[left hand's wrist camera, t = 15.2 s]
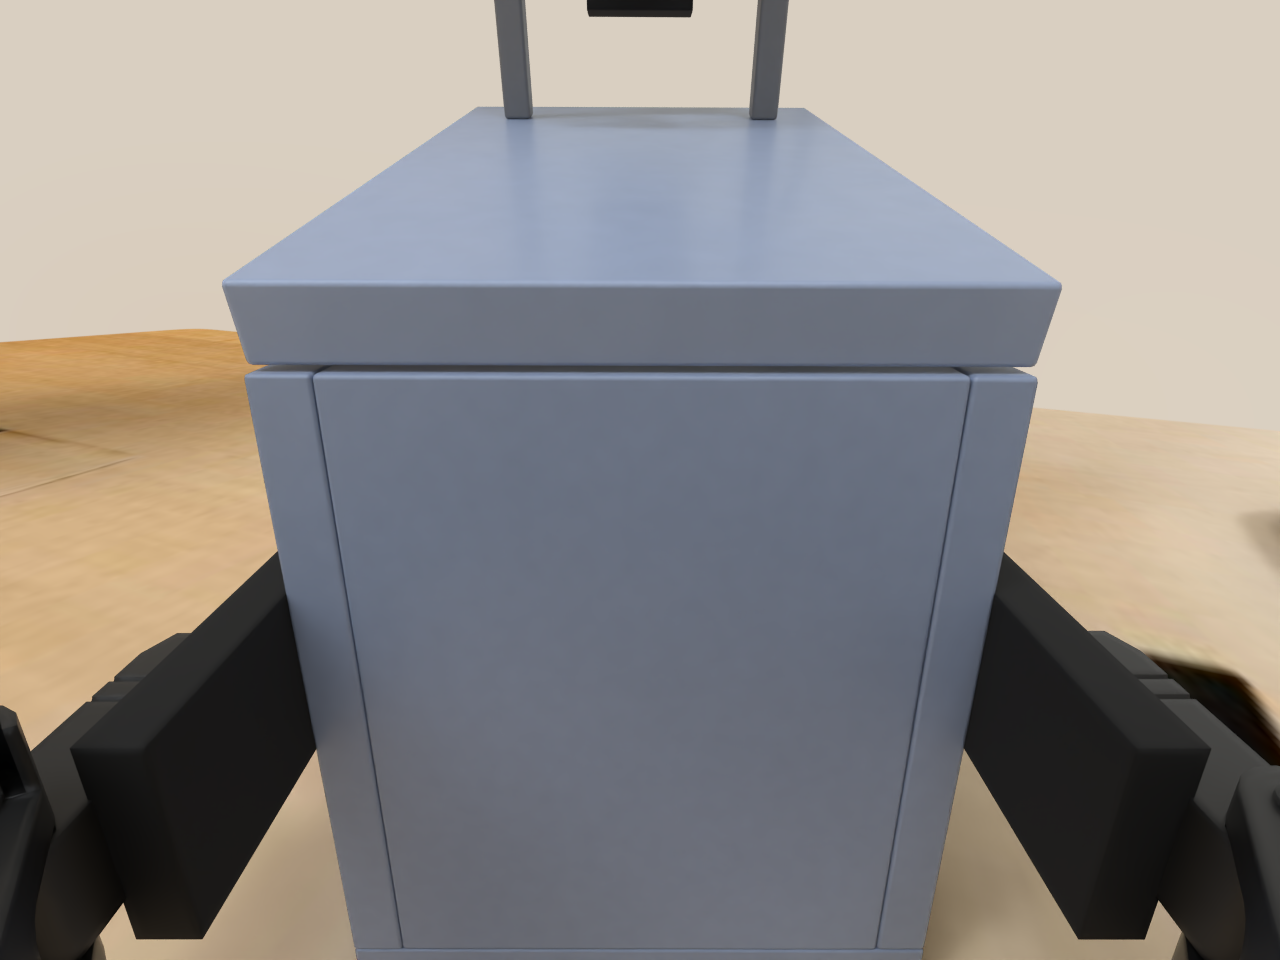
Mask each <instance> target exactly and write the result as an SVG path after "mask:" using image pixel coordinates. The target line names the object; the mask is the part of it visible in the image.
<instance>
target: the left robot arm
mask: <svg viewBox="0 0 1280 960" xmlns="http://www.w3.org/2000/svg"><path fill="white" fill-rule="evenodd" d="M964 749H965V751H966V752H967V754H968V756H969V757H970V759H971V761H972V762H973V764H974V766H975V767H976V769H977V771H978V772H979V774H980V776H981V777H982V779H983V781H984V782H985V784H986V786H987V787H988V789H989V791H990V792H991V794H992V796H993V797H994V799H995V801H996V802H997V804H998V806H999V807H1000V809H1001V811H1002V813H1003V814H1004V816H1005V818H1006V819H1007V821H1008V823H1009V824H1010V826H1011V828H1012V829H1013V831H1014V833H1015V834H1016V836H1017V838H1018V839H1019V841H1020V843H1021V844H1022V846H1023V848H1024V849H1025V851H1026V853H1027V854H1028V856H1029V858H1030V859H1031V861H1032V863H1033V864H1034V866H1035V868H1036V869H1037V871H1038V873H1039V874H1040V876H1041V878H1042V879H1043V881H1044V883H1045V884H1046V886H1047V888H1048V889H1049V891H1050V893H1051V894H1052V896H1053V898H1054V899H1055V901H1056V903H1057V904H1058V906H1059V908H1060V909H1061V911H1062V913H1063V914H1064V916H1065V918H1066V919H1067V921H1068V923H1069V924H1070V926H1071V928H1072V929H1073V931H1074V933H1075V934H1076V936H1077V938H1078V939H1145V937H1146V934H1147V931H1148V928H1149V926H1150V923H1151V920H1152V917H1153V914H1154V911H1155V908H1156V906H1157V903H1158V900H1159V901H1160V903H1161V904H1162V905H1163V907H1164V908H1165V909H1166V911H1167V912H1168V913H1169V915H1170V916H1171V917H1172V919H1173V920H1174V921H1175V923H1176V924H1177V925H1178V927H1179V928H1180V929H1181V931H1182V933H1181V936H1180V938H1179V941H1178V944H1177V946H1176V949H1175V952H1174V954H1173V957H1172V960H1280V766H1270V765H1269V764H1268V763H1267V762H1266V761H1265V760H1263V759H1262V758H1261V757H1260V756H1259V755H1258V754H1257V753H1256V752H1254V751H1253V750H1252V749H1251V748H1250V747H1249V746H1248V745H1247V744H1245V743H1244V742H1243V741H1242V740H1241V739H1240V738H1239V737H1237V736H1236V735H1235V734H1234V733H1233V732H1232V731H1231V730H1230V729H1228V728H1227V727H1226V726H1225V725H1224V724H1223V723H1222V722H1221V721H1219V720H1218V719H1217V718H1216V717H1215V716H1214V715H1213V714H1211V713H1210V712H1209V711H1208V710H1207V709H1206V708H1205V707H1204V706H1202V705H1201V704H1200V703H1199V702H1198V701H1197V700H1196V699H1190V694H1189V693H1188V692H1187V691H1185V690H1184V689H1183V688H1182V687H1181V686H1180V685H1179V684H1178V683H1176V682H1175V681H1174V680H1173V679H1168V677H1167V674H1166V673H1165V672H1164V671H1163V670H1162V669H1161V668H1159V667H1158V666H1157V665H1156V664H1155V663H1154V662H1153V661H1152V660H1150V659H1149V658H1148V657H1147V656H1146V655H1145V654H1144V653H1143V652H1141V651H1140V650H1138V649H1136V648H1134V647H1133V646H1131V645H1129V644H1127V643H1125V642H1123V641H1122V640H1120V639H1118V638H1116V637H1114V636H1113V635H1111V634H1109V633H1107V632H1105V631H1087V630H1086V629H1085V628H1084V627H1083V626H1082V625H1080V624H1079V623H1078V622H1077V621H1076V620H1075V619H1074V618H1073V617H1072V616H1071V615H1070V614H1069V613H1068V612H1067V611H1066V610H1065V609H1064V608H1063V607H1061V606H1060V605H1059V604H1058V603H1057V602H1056V601H1055V600H1054V599H1053V598H1052V597H1051V596H1050V595H1049V594H1048V593H1047V592H1046V591H1045V590H1043V589H1042V588H1041V587H1040V586H1039V585H1038V584H1037V583H1036V582H1035V581H1034V580H1033V579H1032V578H1031V577H1030V576H1029V575H1028V574H1027V573H1026V572H1024V571H1023V570H1022V569H1021V568H1020V567H1019V566H1018V565H1017V564H1016V563H1015V562H1014V561H1013V560H1012V559H1011V558H1010V557H1009V556H1008V555H1006V554H1005V553H1004V552H1003V557H1002V562H1001V566H1000V571H999V576H998V581H997V586H996V591H995V594H994V599H993V604H992V609H991V614H990V619H989V624H988V629H987V634H986V639H985V644H984V649H983V654H982V659H981V664H980V669H979V674H978V679H977V684H976V689H975V695H974V700H973V705H972V710H971V715H970V720H969V725H968V730H967V735H966V740H965V745H964ZM315 750H316V744H315V739H314V734H313V729H312V724H311V719H310V714H309V709H308V703H307V698H306V693H305V688H304V683H303V678H302V673H301V667H300V662H299V657H298V652H297V647H296V642H295V636H294V631H293V626H292V621H291V616H290V611H289V606H288V600H287V595H286V590H285V585H284V580H283V575H282V569H281V564H280V559H279V554H278V551H277V552H276V553H275V554H274V555H273V556H272V557H271V558H270V559H269V560H268V561H267V562H266V563H265V564H264V565H263V566H262V567H261V568H259V569H258V570H257V571H256V572H255V573H254V574H253V575H252V576H251V577H250V578H249V579H248V580H247V581H246V582H245V583H244V584H243V585H242V586H240V587H239V588H238V589H237V590H236V591H235V592H234V593H233V594H232V595H231V596H230V597H229V598H228V599H227V600H226V601H225V602H224V603H222V604H221V605H220V606H219V607H218V608H217V609H216V610H215V611H214V612H213V613H212V614H211V615H210V616H209V617H208V618H207V619H206V620H205V621H203V622H202V623H201V624H200V625H199V626H198V627H197V628H196V629H195V630H194V631H193V632H192V633H177V634H175V635H173V636H171V637H169V638H168V639H166V640H164V641H162V642H160V643H159V644H157V645H155V646H153V647H151V648H150V649H148V650H146V651H144V652H142V653H141V654H140V655H138V656H137V657H136V658H135V659H134V660H133V661H132V662H131V663H129V664H128V665H127V666H126V667H125V668H124V669H123V670H122V671H120V672H119V673H118V674H117V675H116V676H115V677H114V681H113V682H108V683H107V684H106V685H105V686H104V687H102V688H101V689H100V690H99V691H98V692H97V693H96V694H95V695H94V696H92V701H91V702H86V703H85V704H83V705H82V706H81V707H80V708H79V709H78V710H77V711H76V712H74V713H73V714H72V715H71V716H70V717H69V718H68V719H67V720H65V721H64V722H63V723H62V724H61V725H60V726H59V727H58V728H56V729H55V730H54V731H53V732H52V733H51V734H50V735H49V736H48V737H46V738H45V739H44V740H43V741H42V742H41V743H40V744H39V745H37V746H36V747H35V748H34V749H33V750H32V751H31V752H30V749H29V746H28V744H27V741H26V738H25V736H24V733H23V730H22V728H21V725H20V722H19V720H18V717H17V714H16V712H14V711H12V710H10V709H8V708H6V707H4V706H0V960H106V956H105V951H104V946H103V944H102V941H101V938H100V936H99V935H100V933H101V932H102V930H103V929H104V928H105V926H106V925H107V924H108V922H109V921H110V920H111V918H112V917H113V916H114V914H115V913H116V912H117V910H118V909H119V908H120V906H121V905H122V904H123V903H124V906H125V908H126V911H127V914H128V917H129V920H130V923H131V926H132V928H133V931H134V934H135V937H136V939H203V937H204V936H205V934H206V932H207V931H208V929H209V927H210V926H211V924H212V922H213V921H214V919H215V917H216V916H217V914H218V912H219V911H220V909H221V907H222V906H223V904H224V902H225V901H226V899H227V897H228V896H229V894H230V892H231V891H232V889H233V887H234V886H235V884H236V882H237V881H238V879H239V877H240V876H241V874H242V872H243V871H244V869H245V867H246V866H247V864H248V862H249V860H250V859H251V857H252V855H253V854H254V852H255V850H256V849H257V847H258V845H259V844H260V842H261V840H262V839H263V837H264V835H265V834H266V832H267V830H268V829H269V827H270V825H271V824H272V822H273V820H274V819H275V817H276V815H277V814H278V812H279V810H280V809H281V807H282V805H283V804H284V802H285V800H286V799H287V797H288V795H289V794H290V792H291V790H292V789H293V787H294V785H295V784H296V782H297V780H298V779H299V777H300V775H301V774H302V772H303V770H304V769H305V767H306V765H307V764H308V762H309V760H310V759H311V757H312V755H313V754H314V752H315Z"/></svg>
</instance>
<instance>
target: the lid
mask: <svg viewBox="0 0 1280 960" xmlns="http://www.w3.org/2000/svg"><path fill="white" fill-rule="evenodd" d="M788 2H789V0H758V7H757V19H756V32H755V44H754V57H753V70H752V82H751V96H750V108H658V107H533V106H532V92H531V78H530V64H529V50H528V36H527V23H526V9H525V0H494V3H495V14H496V25H497V36H498V46H499V57H500V68H501V79H502V90H503V101H504V107H477V108H475V109H474V110H472V111H471V112H469V113H468V114H466V115H465V116H463V117H462V118H460V119H459V120H458V121H456V122H455V123H453V124H452V125H450V126H449V127H447V128H446V129H444V130H443V131H441V132H440V133H438V134H437V135H436V136H434V137H433V138H431V139H430V140H428V141H427V142H425V143H424V144H422V145H421V146H419V147H418V148H416V149H415V150H414V151H412V152H411V153H409V154H408V155H406V156H405V157H403V158H402V159H400V160H399V161H397V162H396V163H394V164H393V165H392V166H390V167H389V168H387V169H386V170H384V171H383V172H381V173H380V174H378V175H377V176H375V177H374V178H372V179H371V180H370V181H368V182H367V183H365V184H364V185H362V186H361V187H359V188H358V189H356V190H355V191H353V192H352V193H351V194H349V195H348V196H346V197H345V198H343V199H342V200H340V201H339V202H337V203H336V204H334V205H333V206H331V207H330V208H329V209H327V210H326V211H324V212H323V213H321V214H320V215H318V216H317V217H315V218H314V219H312V220H311V221H309V222H308V223H306V224H305V225H304V226H302V227H301V228H299V229H298V230H296V231H295V232H293V233H292V234H290V235H289V236H287V237H286V238H284V239H283V240H282V241H280V242H279V243H277V244H276V245H274V246H273V247H271V248H270V249H268V250H267V251H265V252H264V253H262V254H261V255H260V256H258V257H257V258H255V259H254V260H252V261H251V262H249V263H248V264H246V265H245V266H243V267H242V268H240V269H239V270H237V271H236V272H235V273H233V274H232V275H230V276H229V277H227V278H226V279H224V280H223V282H222V287H223V290H224V293H225V296H226V299H227V302H228V306H229V309H230V312H231V315H232V318H233V321H234V324H235V327H236V330H237V333H238V336H239V339H240V342H241V345H242V348H243V351H244V354H245V357H246V360H247V362H248V363H249V364H252V365H555V366H886V367H1032V366H1035V364H1036V363H1037V360H1038V358H1039V354H1040V352H1041V349H1042V346H1043V343H1044V340H1045V337H1046V334H1047V331H1048V328H1049V325H1050V322H1051V319H1052V316H1053V313H1054V310H1055V307H1056V305H1057V301H1058V299H1059V296H1060V293H1061V290H1062V285H1061V283H1060V282H1059V281H1057V280H1056V279H1054V278H1053V277H1051V276H1050V275H1048V274H1047V273H1045V272H1044V271H1042V270H1041V269H1040V268H1038V267H1037V266H1035V265H1034V264H1032V263H1031V262H1029V261H1028V260H1026V259H1025V258H1023V257H1022V256H1020V255H1019V254H1018V253H1016V252H1015V251H1013V250H1012V249H1010V248H1009V247H1007V246H1006V245H1004V244H1003V243H1001V242H1000V241H998V240H997V239H996V238H994V237H993V236H991V235H990V234H988V233H987V232H985V231H984V230H982V229H981V228H979V227H978V226H976V225H975V224H974V223H972V222H971V221H969V220H968V219H966V218H965V217H963V216H962V215H960V214H959V213H957V212H956V211H954V210H953V209H952V208H950V207H949V206H947V205H946V204H944V203H943V202H941V201H940V200H938V199H937V198H935V197H934V196H932V195H931V194H930V193H928V192H927V191H925V190H924V189H922V188H921V187H919V186H918V185H916V184H915V183H913V182H912V181H910V180H909V179H908V178H906V177H905V176H903V175H902V174H900V173H899V172H897V171H896V170H894V169H893V168H891V167H890V166H888V165H887V164H885V163H884V162H883V161H881V160H880V159H878V158H877V157H875V156H874V155H872V154H871V153H869V152H868V151H866V150H865V149H863V148H862V147H861V146H859V145H858V144H856V143H855V142H853V141H852V140H850V139H849V138H847V137H846V136H844V135H843V134H841V133H840V132H839V131H837V130H836V129H834V128H833V127H831V126H830V125H828V124H827V123H825V122H824V121H822V120H821V119H819V118H818V117H817V116H815V115H814V114H812V113H811V112H809V111H808V110H806V109H805V108H778V103H779V93H780V83H781V73H782V63H783V53H784V43H785V33H786V23H787V13H788Z"/></svg>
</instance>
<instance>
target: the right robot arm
mask: <svg viewBox="0 0 1280 960" xmlns="http://www.w3.org/2000/svg"><path fill="white" fill-rule="evenodd" d="M692 10H693V0H587V11H588V15H589V17H691V14H692Z"/></svg>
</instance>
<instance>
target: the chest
mask: <svg viewBox="0 0 1280 960" xmlns="http://www.w3.org/2000/svg"><path fill="white" fill-rule="evenodd" d="M1037 383H1038V382H1037V378H1036V377H1034V376H1032V375H1030V374H1027V373H1025V372H1023V371H1020V370H1018V369H1015V368H1013V367H886V366H555V365H268V366H265V367H263V368H261V369H258V370H256V371H253V372H251V373H249V374H246V375H245V384H246V389H247V394H248V399H249V405H250V410H251V415H252V420H253V425H254V430H255V435H256V441H257V446H258V451H259V456H260V461H261V466H262V472H263V477H264V482H265V487H266V492H267V497H268V502H269V508H270V513H271V518H272V523H273V528H274V533H275V539H276V544H277V549H278V554H279V559H280V564H281V569H282V575H283V580H284V585H285V590H286V595H287V600H288V606H289V611H290V616H291V621H292V626H293V631H294V636H295V642H296V647H297V652H298V657H299V662H300V667H301V673H302V678H303V683H304V688H305V693H306V698H307V703H308V709H309V714H310V719H311V724H312V729H313V734H314V739H315V744H316V750H317V755H318V760H319V765H320V770H321V776H322V781H323V786H324V791H325V796H326V801H327V807H328V812H329V817H330V822H331V827H332V832H333V837H334V843H335V848H336V853H337V858H338V863H339V868H340V874H341V879H342V884H343V889H344V894H345V899H346V905H347V910H348V915H349V920H350V925H351V930H352V935H353V941H354V946H355V948H356V956H357V960H922V955H923V949H922V948H923V947H924V943H925V938H926V933H927V928H928V923H929V918H930V913H931V908H932V903H933V898H934V893H935V888H936V883H937V878H938V873H939V868H940V864H941V859H942V854H943V849H944V844H945V839H946V834H947V829H948V824H949V819H950V814H951V809H952V804H953V799H954V794H955V789H956V784H957V779H958V774H959V769H960V765H961V760H962V755H963V750H964V745H965V740H966V735H967V730H968V725H969V720H970V715H971V710H972V705H973V700H974V695H975V689H976V684H977V679H978V674H979V669H980V664H981V659H982V654H983V649H984V644H985V639H986V634H987V629H988V624H989V619H990V614H991V609H992V604H993V599H994V594H995V591H996V586H997V581H998V576H999V571H1000V566H1001V562H1002V557H1003V552H1004V547H1005V542H1006V537H1007V532H1008V527H1009V522H1010V517H1011V512H1012V507H1013V502H1014V497H1015V492H1016V487H1017V482H1018V477H1019V472H1020V467H1021V462H1022V458H1023V453H1024V448H1025V443H1026V438H1027V433H1028V428H1029V423H1030V418H1031V413H1032V408H1033V403H1034V398H1035V393H1036V388H1037Z"/></svg>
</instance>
